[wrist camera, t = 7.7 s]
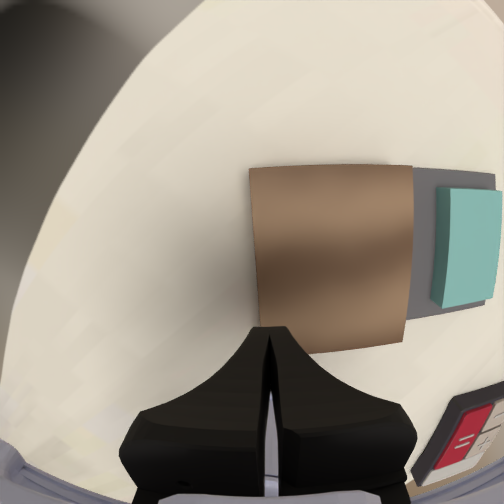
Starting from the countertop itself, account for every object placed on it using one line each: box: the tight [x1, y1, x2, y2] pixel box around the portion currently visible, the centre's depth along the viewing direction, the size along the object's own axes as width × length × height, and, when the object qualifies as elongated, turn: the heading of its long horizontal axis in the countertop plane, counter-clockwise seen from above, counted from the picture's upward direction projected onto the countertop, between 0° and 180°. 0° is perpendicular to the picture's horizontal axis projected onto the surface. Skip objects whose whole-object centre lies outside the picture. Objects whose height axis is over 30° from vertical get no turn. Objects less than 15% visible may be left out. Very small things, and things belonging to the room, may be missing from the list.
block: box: [430, 187, 502, 309], centre depth 18 cm, size 9×6×2 cm, turn 5°
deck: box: [249, 164, 414, 354], centre depth 19 cm, size 12×10×4 cm
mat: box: [406, 168, 496, 320], centre depth 20 cm, size 12×10×1 cm
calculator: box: [410, 381, 504, 487], centre depth 24 cm, size 11×4×15 cm
